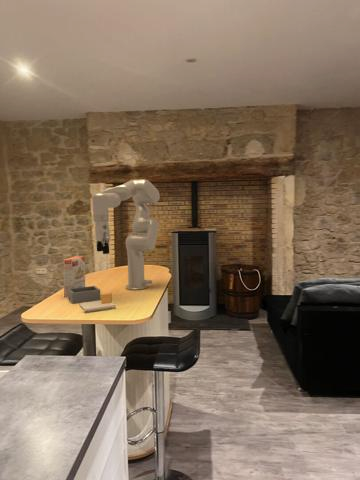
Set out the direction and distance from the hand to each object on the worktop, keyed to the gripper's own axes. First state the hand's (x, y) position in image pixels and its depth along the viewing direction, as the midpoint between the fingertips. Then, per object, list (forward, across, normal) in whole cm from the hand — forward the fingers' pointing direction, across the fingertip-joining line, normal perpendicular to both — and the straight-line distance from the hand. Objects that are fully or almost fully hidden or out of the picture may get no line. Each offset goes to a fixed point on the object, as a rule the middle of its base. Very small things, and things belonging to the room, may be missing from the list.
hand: (103, 252), depth 178 cm
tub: (+25, +6, +10) cm, 27 cm away
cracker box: (+26, +20, +11) cm, 34 cm away
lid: (+25, -10, +8) cm, 28 cm away
